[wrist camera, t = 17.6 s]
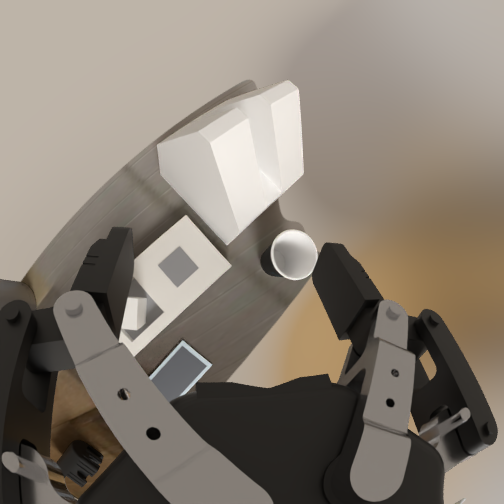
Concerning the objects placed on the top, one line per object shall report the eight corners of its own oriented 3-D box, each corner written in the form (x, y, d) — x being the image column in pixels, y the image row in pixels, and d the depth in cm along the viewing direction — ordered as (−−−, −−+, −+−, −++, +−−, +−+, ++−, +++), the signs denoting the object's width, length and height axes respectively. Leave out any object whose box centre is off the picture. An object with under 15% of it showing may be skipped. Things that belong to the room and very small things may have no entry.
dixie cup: (264, 290, 51) (286, 289, 41) (245, 253, 51) (262, 242, 41) (298, 271, 53) (325, 265, 43) (279, 235, 54) (303, 221, 43)
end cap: (78, 434, 36) (68, 448, 30) (105, 454, 37) (98, 471, 30) (61, 455, 34) (51, 469, 27) (87, 474, 34) (79, 490, 28)
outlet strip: (135, 354, 43) (132, 358, 40) (92, 304, 42) (86, 305, 39) (228, 267, 50) (231, 265, 47) (185, 219, 49) (186, 214, 46)
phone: (165, 412, 43) (165, 414, 42) (136, 390, 42) (135, 392, 41) (211, 363, 47) (212, 364, 46) (182, 339, 46) (182, 340, 45)
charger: (146, 323, 44) (136, 331, 34) (122, 321, 43) (107, 327, 33) (146, 297, 45) (137, 298, 35) (122, 295, 44) (108, 295, 34)
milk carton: (160, 174, 50) (152, 88, 26) (217, 133, 54) (244, 46, 30) (226, 245, 51) (267, 201, 27) (280, 196, 55) (345, 133, 31)
